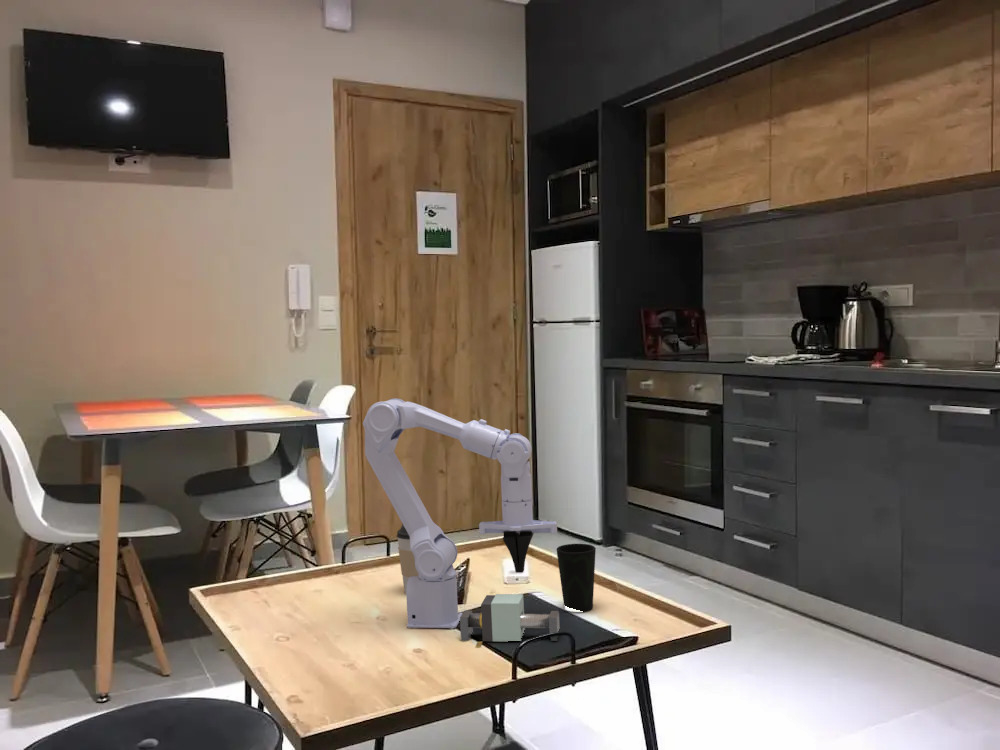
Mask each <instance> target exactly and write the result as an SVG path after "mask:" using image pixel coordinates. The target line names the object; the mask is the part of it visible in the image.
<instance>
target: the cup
mask: <svg viewBox="0 0 1000 750" xmlns="http://www.w3.org/2000/svg"><path fill="white" fill-rule="evenodd" d="M596 552H597V551H596V546H594V545H592V544H589V543H588V544H587V543H569V544H563V545H560V546H559V545H558V546H557V548H556V558H557V563H558V570H559V579H560V585H561V593H562V601H563V606H564V605H565V606H567V607H569V608H573V609H576V610H580V611H583V613H588V612H591V611H592V610H593V608H594V606H593V605H594V593H595V592H594V589H595V588H594V587H595V568H596Z"/></svg>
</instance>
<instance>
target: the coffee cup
mask: <svg viewBox="0 0 1000 750" xmlns="http://www.w3.org/2000/svg"><path fill="white" fill-rule="evenodd" d="M396 533H397V534H396V538H397V543H398V547H397V548H398V556H399V563H400V571H401V572H400V573H401V575H402V581H403V582H402V583H403V589H404V590H403V591H404V594H405V593H406V590H407V582H408V579H409V578H410V577H411V576H418V574H419V573H418V572H417V570H416V567H415V558H414V555H413V553H412V551H411V548H410V536H409V534H408V532H407V531H406V529H405V527H404V525H403V523H402V524H401V526H400V528H399V529H398V530H397V531H396Z"/></svg>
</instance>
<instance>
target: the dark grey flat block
mask: <svg viewBox="0 0 1000 750" xmlns="http://www.w3.org/2000/svg"><path fill="white" fill-rule="evenodd" d="M495 595H496V594H495ZM495 595H494V594H486V596H485V597H484V599H483V601H482V602H481V604H480V611H481V612H480V613H481V615H482V628H481V631H482V633H481V634H482V642H494V641H493V637H492V615H491V602H492V601H493V599H494V597H495Z"/></svg>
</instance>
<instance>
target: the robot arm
mask: <svg viewBox="0 0 1000 750" xmlns="http://www.w3.org/2000/svg"><path fill="white" fill-rule="evenodd" d="M362 425H363V429H364V455H365V458H366V460H367V461H368V463H369V465H370V467H371V469H372V470H373V473H374V474H375V475H376V478H377V480H378V481H379V483H380V485H381V487H382V489H383V491H384V493H385V494H386V496H387V497H388V499H389V502H390V504H391V505H392V507H393V509H394V510H395V512H396V514H397V516H398V518H399V520H400V522H401V523H402V524H403V525H404V527H405V529H406V531H407V532H408V534H409V536H410V548H411V551H412V553H413V555H414V558H415V567H416V570H417V572H418V573H419V574H418V576H411V577H410V578H409V579H408V582H407V590H406V594H405V597H406V613H407V615H406V617H407V618H406V619H407V624H406V628H409V629H410V628H413V629H421V628H422V629H423V628H425V629H428V628H430V629H446V628H447V629H456V628H457V626H458V625H459V624H460V622H459V621H460V617H461V615H462V613H463V612H459V607H458V605H459V604H458V603H459V602H458V588H457V587H458V586H457V584H458V583H457V572H456V570H455V568H454V563H455V562H456V560H457V559H458V548H457V545H456V544H455V542H454V541H453V540H452V539H451V538H450V537H448V536H447V535H446V534H445V533H444V531H443V529H442V528H441V527H440V526H438V524H436V523H435V522H434V521H433V520H432V518H431V516H430V514H429V512H428V510H427V508H426V507H425V505H424V503H423V501H422V499H421V498H420V496H419V494H418V492H417V490H416V488H415V486H414V484H412V481H411V479H410V478H409V476H408V475H407V472H406V471H405V469H404V467H403V465H402V464H401V461H400V460H399V458H398V455H397V454H396V453H395V450H396V447H397V444H398V442H399V438H400V436H401V434H402V433H403V432H404V431H405V430H407V429H413V428H422V429H427V430H428V431H429V430H430V431H433V432H436V433H439V434H441V435H444V436H448V437H451V438H453V439H456V440H458V441H459V442H460V444H461V446H462V448H463V449H464V450H467V451H470V452H472V453H476V454H478V455H480V456H484V457H486V458H488V459H492V460H497V461H498V462H499V463H500V469H501V475H500V488H501V489H500V490H501V511H502V512H501V515H502V520H494V521H492V520H491V521H480V523H479V525H478V528H479V535H486V534H503V537H502V540H503V542H504V544H505V546H506V548H507V550H508V551H509V554H510V557H511V560H512V562H513V567H514V571H515V573H516V574H517V573H519V574H520V573H524V571H525V564H526V557H527V554H528V553H527V552H528V550H529V547H530V544H531V542H532V539H533V536H534V534H551V535H556V534H557V533H558V523H557V521H553V520H551V521H550V520H536V519H535V520H534V513H533V490H532V489H533V488H532V474H531V462H530V461H529V459H530V458H531V456H532V451H533V450H532V449H533V448H532V445H531V442H530V441H529V439H528V438H527V437H526V436H523V434H521V433H511V430H509V429H507V428H505V429H504V430H502V429H500V428H497V427H494V426H491V425H489V424H487V420H484V419H482V418H481V419H479V421H478V420H474V419H472V420H471V421H469V422H467V423H464V422H462V421H459V420H457V419H454V418H453V417H449V416H447V415H446V414H443V413H441V412H438V411H436V410H433V409H432V408H429V407H426V406H424V405H421V404H418V403H415V402H412V401H405V400H403V399H401V398H390V399H388V400H385V401H377V402H375V403H373V404H372V405H371V406H370V407H369V408H368V410H367V413H366V415H365V417H364V419H363V422H362ZM510 433H511V434H510Z"/></svg>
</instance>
